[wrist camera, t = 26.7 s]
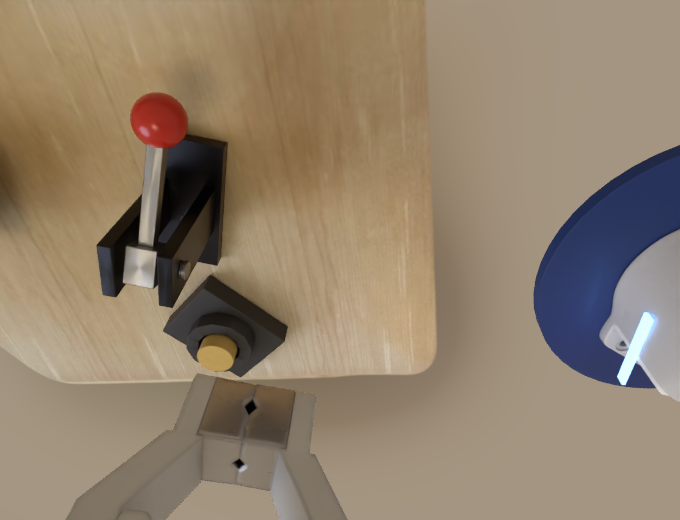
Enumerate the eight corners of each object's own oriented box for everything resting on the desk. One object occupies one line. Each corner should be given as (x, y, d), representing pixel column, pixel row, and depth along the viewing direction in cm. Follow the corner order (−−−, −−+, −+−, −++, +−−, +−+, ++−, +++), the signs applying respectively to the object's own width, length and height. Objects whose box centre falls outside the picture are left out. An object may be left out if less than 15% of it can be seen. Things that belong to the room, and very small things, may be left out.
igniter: (288, 326, 50) (282, 354, 47) (245, 363, 54) (236, 390, 50) (210, 274, 47) (197, 300, 43) (169, 317, 50) (155, 343, 47)
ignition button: (244, 346, 47) (240, 359, 46) (224, 363, 49) (220, 376, 47) (214, 327, 46) (209, 340, 44) (195, 346, 47) (189, 359, 46)
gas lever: (145, 89, 32) (122, 84, 29) (197, 100, 32) (181, 97, 29) (129, 269, 36) (108, 284, 32) (177, 278, 36) (160, 294, 32)
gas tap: (154, 127, 38) (80, 192, 29) (227, 142, 39) (179, 211, 29) (158, 246, 45) (100, 331, 35) (220, 258, 45) (179, 346, 36)
